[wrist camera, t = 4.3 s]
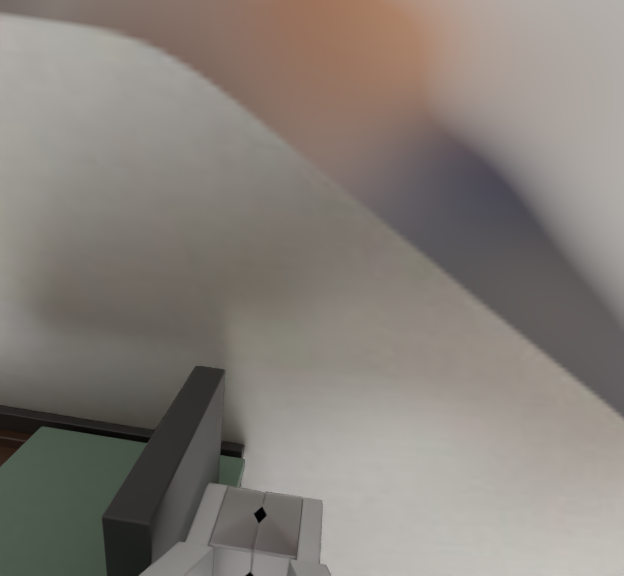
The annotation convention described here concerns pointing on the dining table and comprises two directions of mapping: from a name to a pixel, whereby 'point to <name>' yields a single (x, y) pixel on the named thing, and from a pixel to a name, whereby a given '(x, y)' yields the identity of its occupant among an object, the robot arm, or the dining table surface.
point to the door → (113, 490)
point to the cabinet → (23, 424)
